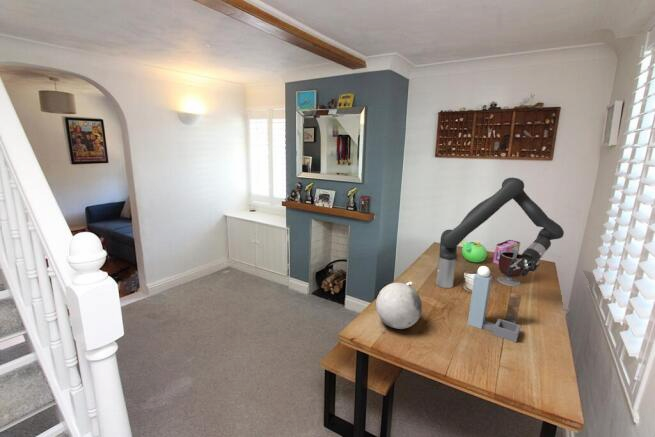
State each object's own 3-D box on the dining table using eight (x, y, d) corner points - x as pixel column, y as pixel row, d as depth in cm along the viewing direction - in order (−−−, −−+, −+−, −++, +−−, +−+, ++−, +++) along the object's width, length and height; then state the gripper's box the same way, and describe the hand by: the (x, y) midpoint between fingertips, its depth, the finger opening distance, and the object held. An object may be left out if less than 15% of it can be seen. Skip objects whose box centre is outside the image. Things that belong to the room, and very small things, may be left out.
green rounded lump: (489, 266, 220) (493, 246, 217) (465, 265, 220) (468, 245, 217) (478, 257, 237) (480, 238, 234) (455, 256, 238) (458, 237, 234)
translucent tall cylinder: (505, 322, 149) (509, 295, 146) (506, 319, 152) (511, 292, 149) (514, 325, 147) (519, 298, 144) (516, 322, 150) (521, 295, 147)
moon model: (391, 342, 132) (394, 298, 127) (366, 318, 150) (369, 279, 145) (429, 332, 140) (433, 290, 135) (401, 310, 158) (404, 273, 153)
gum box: (503, 266, 220) (506, 247, 217) (491, 263, 226) (494, 244, 223) (517, 259, 235) (520, 242, 232) (506, 256, 241) (509, 239, 238)
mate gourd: (516, 288, 186) (522, 256, 181) (492, 280, 196) (497, 250, 191) (526, 281, 196) (531, 251, 191) (502, 274, 206) (506, 245, 201)
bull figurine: (414, 295, 174) (415, 281, 172) (401, 303, 164) (403, 289, 163) (407, 292, 177) (408, 279, 175) (394, 301, 167) (395, 286, 166)
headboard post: (466, 325, 146) (474, 267, 140) (471, 317, 153) (479, 262, 146) (515, 342, 134) (527, 280, 128) (519, 333, 141) (530, 273, 134)
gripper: (517, 247, 168) (499, 267, 164) (542, 248, 155) (522, 270, 150) (525, 258, 169) (507, 278, 165) (550, 259, 155) (531, 282, 151)
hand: (514, 274), depth 158 cm, fingers open, 8 cm apart
